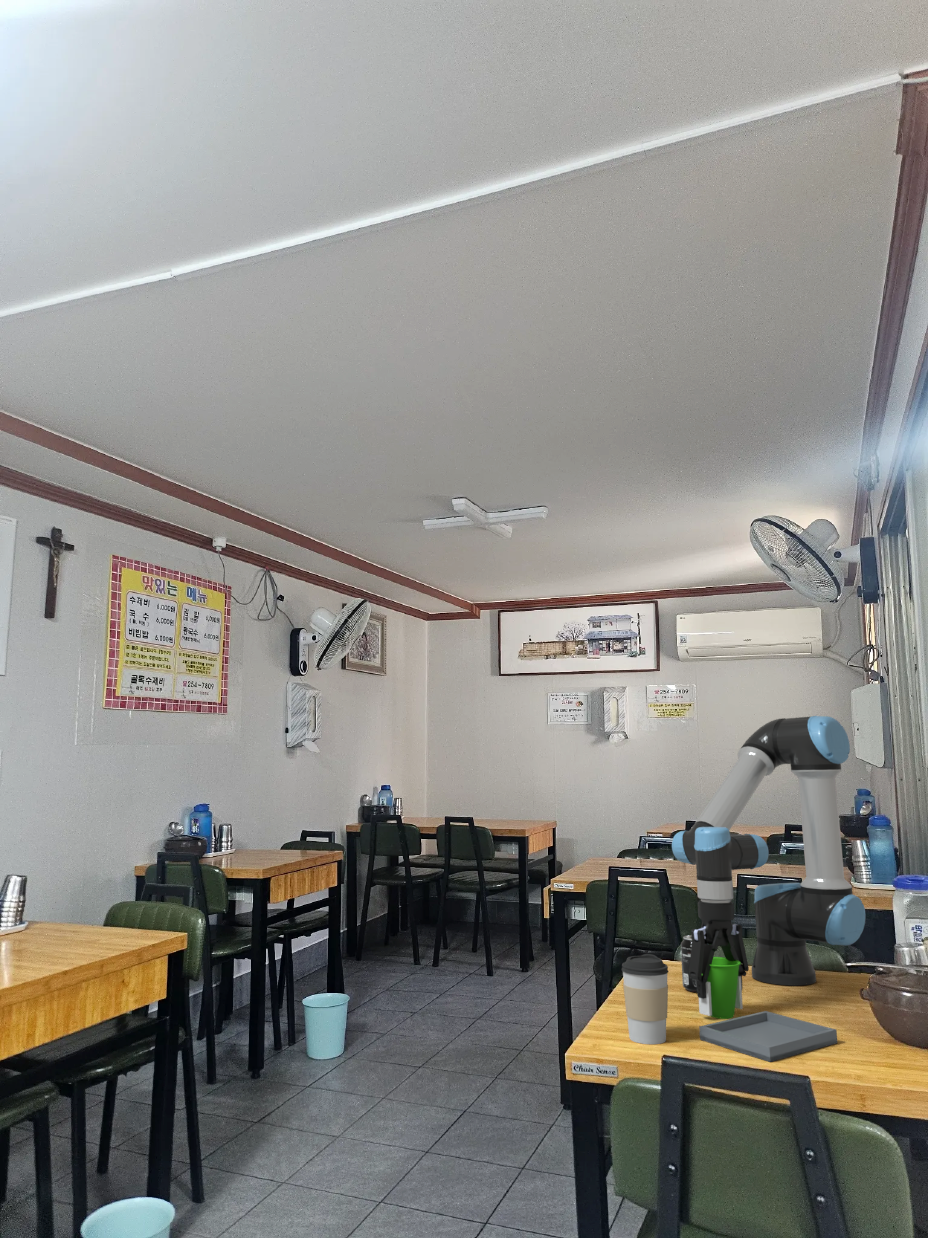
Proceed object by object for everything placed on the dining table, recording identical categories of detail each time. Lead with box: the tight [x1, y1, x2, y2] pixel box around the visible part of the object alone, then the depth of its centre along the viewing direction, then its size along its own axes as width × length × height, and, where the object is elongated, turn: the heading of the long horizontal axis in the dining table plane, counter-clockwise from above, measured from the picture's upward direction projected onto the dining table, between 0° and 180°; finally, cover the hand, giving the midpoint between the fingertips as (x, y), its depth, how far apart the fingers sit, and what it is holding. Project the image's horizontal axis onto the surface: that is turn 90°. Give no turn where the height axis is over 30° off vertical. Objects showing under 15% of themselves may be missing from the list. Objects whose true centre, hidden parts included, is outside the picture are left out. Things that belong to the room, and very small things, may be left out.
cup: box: [702, 956, 742, 1020], centre depth 182 cm, size 9×9×11 cm
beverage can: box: [680, 935, 709, 994], centre depth 204 cm, size 7×7×12 cm
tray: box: [698, 1010, 838, 1063], centre depth 164 cm, size 20×16×2 cm
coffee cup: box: [621, 953, 670, 1045], centre depth 166 cm, size 9×9×15 cm
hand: (721, 1011), depth 181 cm, fingers closed on cup, 9 cm apart
